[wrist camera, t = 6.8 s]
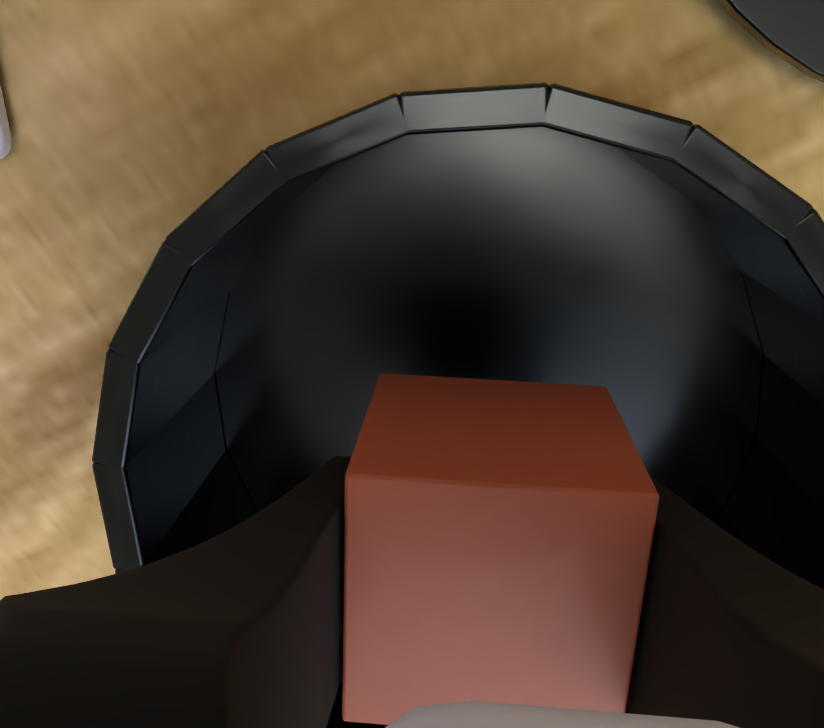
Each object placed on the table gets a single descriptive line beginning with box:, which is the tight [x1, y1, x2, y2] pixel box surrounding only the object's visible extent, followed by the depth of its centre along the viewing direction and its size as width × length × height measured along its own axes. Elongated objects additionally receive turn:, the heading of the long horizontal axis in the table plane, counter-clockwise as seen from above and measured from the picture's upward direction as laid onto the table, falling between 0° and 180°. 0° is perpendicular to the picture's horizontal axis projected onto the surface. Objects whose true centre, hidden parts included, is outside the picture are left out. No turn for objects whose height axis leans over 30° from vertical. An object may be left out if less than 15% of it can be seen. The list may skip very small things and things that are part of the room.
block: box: [342, 373, 659, 725], centre depth 12 cm, size 4×4×4 cm
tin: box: [92, 83, 824, 728], centre depth 16 cm, size 14×14×5 cm
